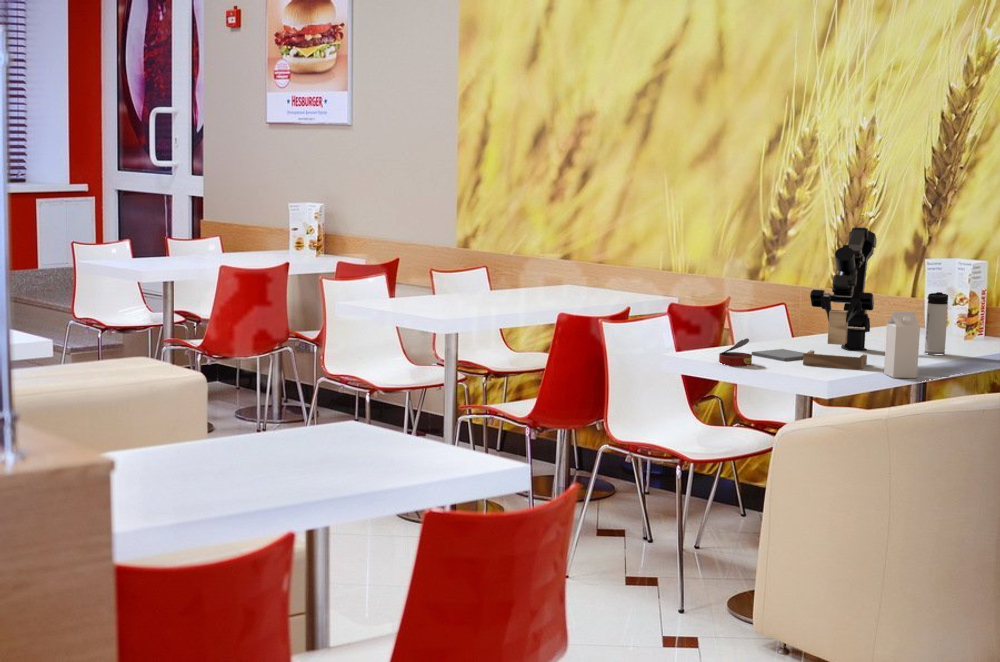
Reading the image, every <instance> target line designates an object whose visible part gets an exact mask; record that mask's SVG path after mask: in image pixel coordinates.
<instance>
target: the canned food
mask: <svg viewBox="0 0 1000 662" xmlns="http://www.w3.org/2000/svg"><path fill="white" fill-rule="evenodd" d="M749 342H750V339H749V338H747V337H746V338H744V339H741V340H739V341H738V342H736V343H735V344H734V345H732V346H731V347H730V348H728V349H727V350H725V351H722V352H720V353H719V355H718V356H719V357H718V363H719V362H720V363H722V364H725V365H724V366H726V365H729V366H728V367H748V366H747V365H750V366H752V362H753V359H752V357H753V355H752V353H751V354H750V353H748V352H747V353H746V352H738V351H737V352H736V351H733V350H737V349H739V348H742V347H743V346H745V345H747V344H748V343H749Z"/></svg>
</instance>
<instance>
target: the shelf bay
mask: <svg viewBox="0 0 1000 662" xmlns="http://www.w3.org/2000/svg"><path fill="white" fill-rule="evenodd" d="M803 353H804V354H803V359H802V366H809V367H810V366H811V367H823V368H824V367H825V368H836V369H846V370H847V369H849V370H859V369H861V370H862V369H863V368H864V367H865V366H867V364H868V362H867V361H868V354H864V353H863V354H862V355H861V356H859V357H858V356H847V355H846V356H845V355H834V354H822V353H821V354H820V353H815V350H813V349H810V350H809V351H808V352H803Z"/></svg>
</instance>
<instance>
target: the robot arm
mask: <svg viewBox="0 0 1000 662" xmlns="http://www.w3.org/2000/svg"><path fill="white" fill-rule="evenodd" d="M877 239H878V238H877V235H876V233H875V232H873V231H871V230H869V228H867V227H863V226H861V227H860V226H855V227H852V228H851V231H850V232H849V235H848V242H847V244H843V245H842V247H840V248H838V249H837V250H835V253H834V259H835V260H834V261H835V265H836V266H835V267H836V270H837V274H834V275H832V276H833V278H832V284H831V285H832V289H831V291H832V293H833V294H830V292H826V291H825V289H812V290H811V291H810V294H809V297H810V303H811V307H813V308H821V309H822V310H825V313H826V316H827V321H828V322H829V311H831V310H832V304H831V303H835V304H836V303H838V304H843V310H844V311H848V313H847V317H846V322H848V331H847V343H846V344H845V345H840V348H841V349H844V350H847V351H867V349H868V348H865V345H866V344H865V343H866V333H870V332H871V321H870V319H871V318H870V317H869V313H868V311H873V310H874V307H875V306H874V305H875V301H874V294H873V293H872V292H866V291H865V287H866V280H867V279H866V277H867V272H868V271H867V269H868V261H869V260H870V259H871V257H873V255H874V249H875V248H876V247H877V241H878V240H877Z"/></svg>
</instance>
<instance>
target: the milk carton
mask: <svg viewBox="0 0 1000 662" xmlns="http://www.w3.org/2000/svg"><path fill="white" fill-rule="evenodd" d="M885 333H886V334H885V349H884V350H885V353H884V367H883V368H884V369H883V374H884V375H886V376H888V377H890V378H894V379H895V378H896V379H899V378H900V379H908V378H909V379H917V378H918V368H919V367H918V366H919V350H920V335H921V334H920V333H921V325H920V323H919V320H918V318H917V311H895V310H894V311H892V312H891V316H890V318H889V319H888V321H887V322H886V332H885Z"/></svg>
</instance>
